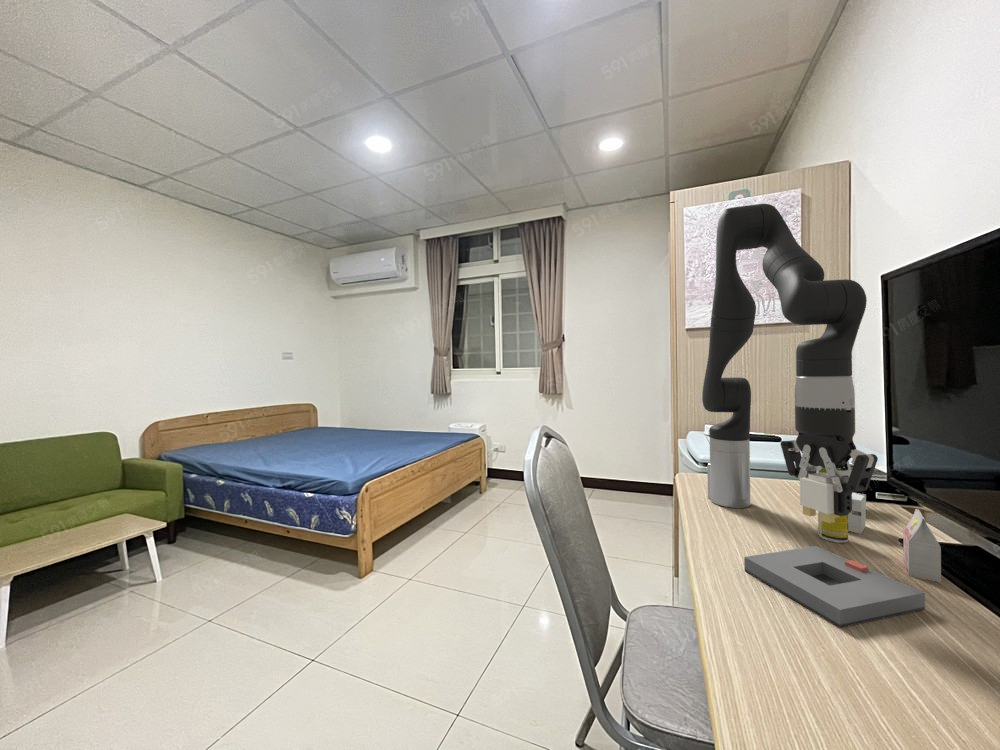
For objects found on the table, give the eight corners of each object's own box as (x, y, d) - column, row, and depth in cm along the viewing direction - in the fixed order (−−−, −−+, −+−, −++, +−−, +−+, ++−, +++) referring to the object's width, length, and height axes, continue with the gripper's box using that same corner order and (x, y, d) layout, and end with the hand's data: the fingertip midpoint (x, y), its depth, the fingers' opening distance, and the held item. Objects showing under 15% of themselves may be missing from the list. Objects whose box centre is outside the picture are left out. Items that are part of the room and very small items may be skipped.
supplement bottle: (854, 544, 80) (853, 502, 79) (827, 542, 81) (826, 501, 80) (838, 534, 84) (838, 495, 84) (813, 533, 85) (813, 494, 85)
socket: (744, 570, 70) (744, 553, 70) (816, 559, 74) (815, 542, 74) (840, 627, 55) (839, 605, 55) (924, 609, 58) (924, 588, 58)
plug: (800, 513, 66) (799, 473, 66) (823, 511, 67) (822, 470, 67) (827, 523, 61) (826, 480, 61) (851, 520, 63) (850, 477, 62)
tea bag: (933, 566, 70) (932, 510, 70) (941, 582, 65) (940, 522, 65) (903, 560, 73) (903, 506, 73) (909, 575, 68) (908, 517, 67)
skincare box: (825, 526, 89) (825, 493, 89) (831, 519, 93) (831, 488, 92) (862, 534, 84) (862, 500, 84) (866, 526, 88) (866, 493, 88)
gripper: (765, 402, 70) (767, 498, 70) (854, 409, 56) (855, 529, 56) (799, 400, 72) (801, 494, 72) (893, 407, 58) (895, 523, 58)
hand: (825, 509), depth 64 cm, fingers closed on plug, 4 cm apart
